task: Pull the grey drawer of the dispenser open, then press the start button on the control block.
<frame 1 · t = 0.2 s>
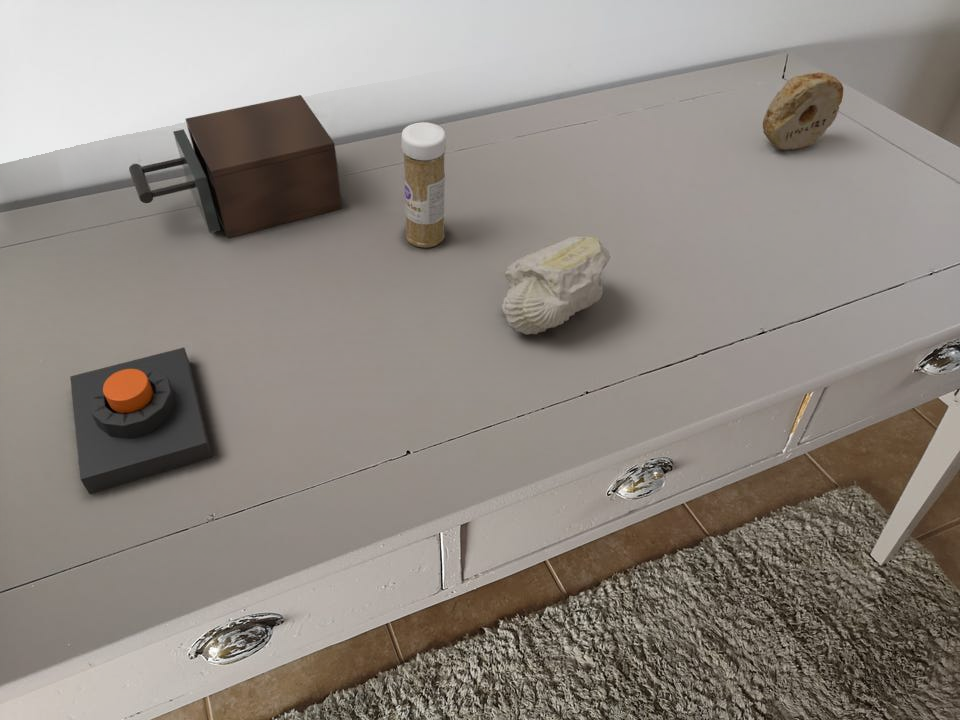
grey drawer: (221, 174, 88), point 4 cm above the table, slide at 0.5 cm
fossil replica: (548, 312, 81), on the table
control block: (143, 423, 69), on the table
stone disc: (788, 145, 106), on the table
sprinkles bottle: (425, 238, 89), on the table
start button: (128, 390, 66), point 5 cm above the table, slide at 0.2 cm
dispenser: (271, 196, 93), on the table
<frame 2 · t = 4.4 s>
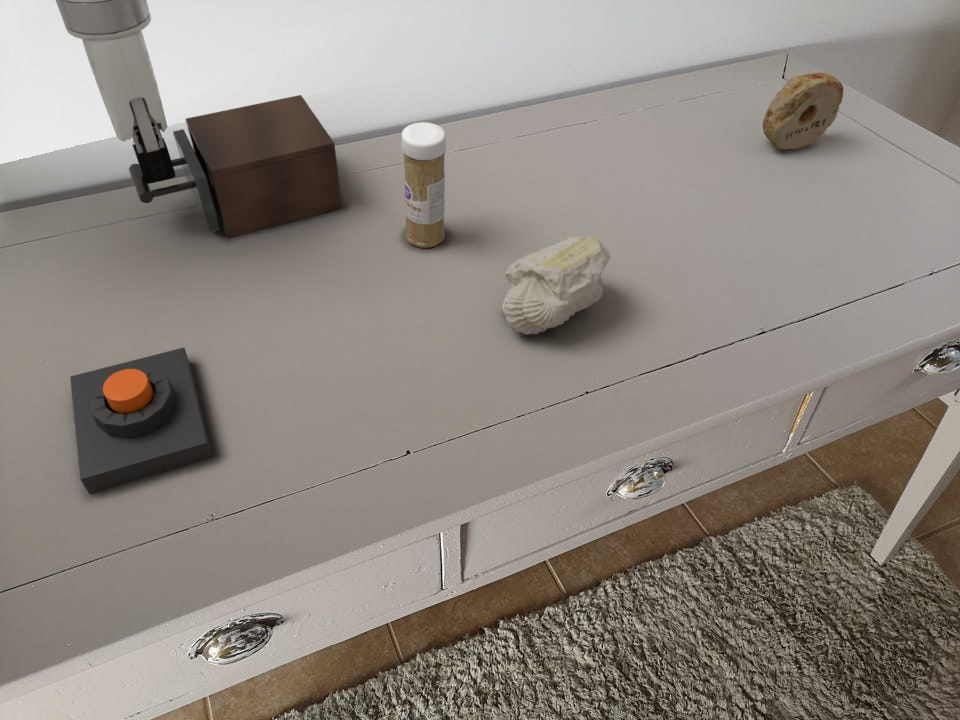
hand: (159, 176, 85), 6 cm above the table, tool pointing down, fingers closed
grey drawer: (220, 174, 88), point 4 cm above the table, slide at 0.5 cm, touching gripper
everything else where it was.
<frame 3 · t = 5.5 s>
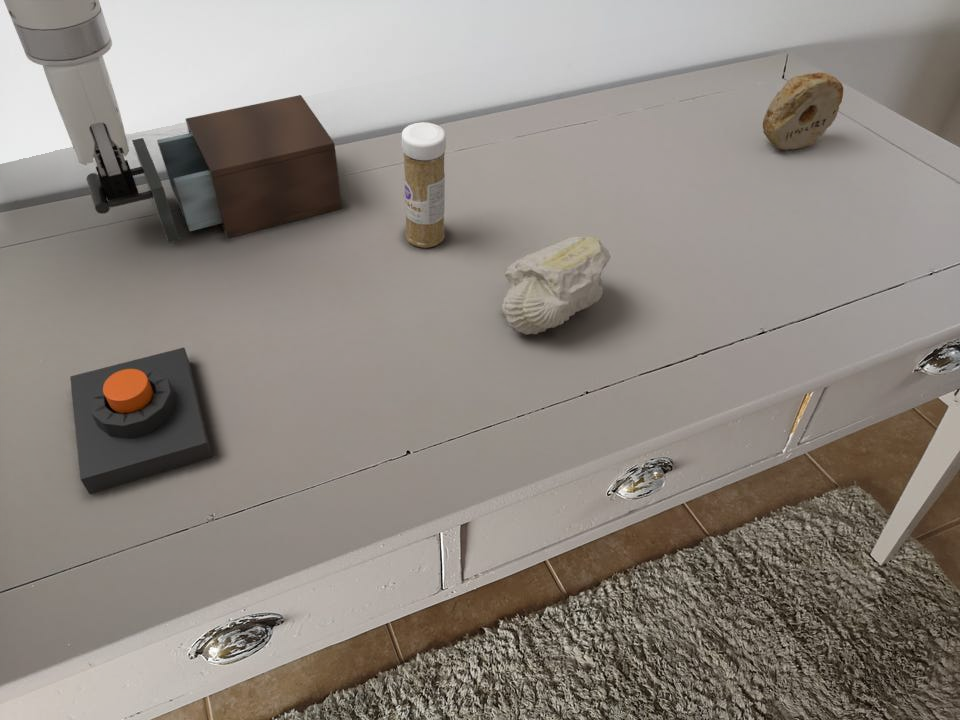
hand: (123, 198, 85), 4 cm above the table, tool pointing down, fingers closed
grey drawer: (181, 184, 87), point 4 cm above the table, slide at 5.0 cm, touching gripper
everything else where it was.
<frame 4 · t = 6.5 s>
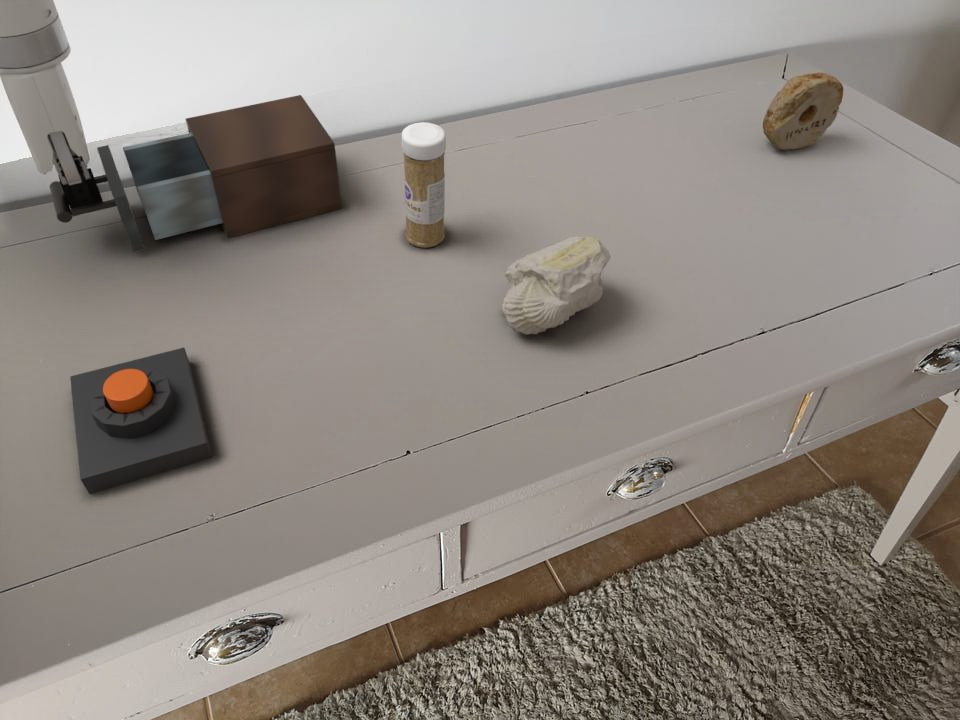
hand: (88, 206, 84), 4 cm above the table, tool pointing down, fingers closed
grey drawer: (146, 192, 86), point 4 cm above the table, slide at 8.7 cm, touching gripper
everything else where it was.
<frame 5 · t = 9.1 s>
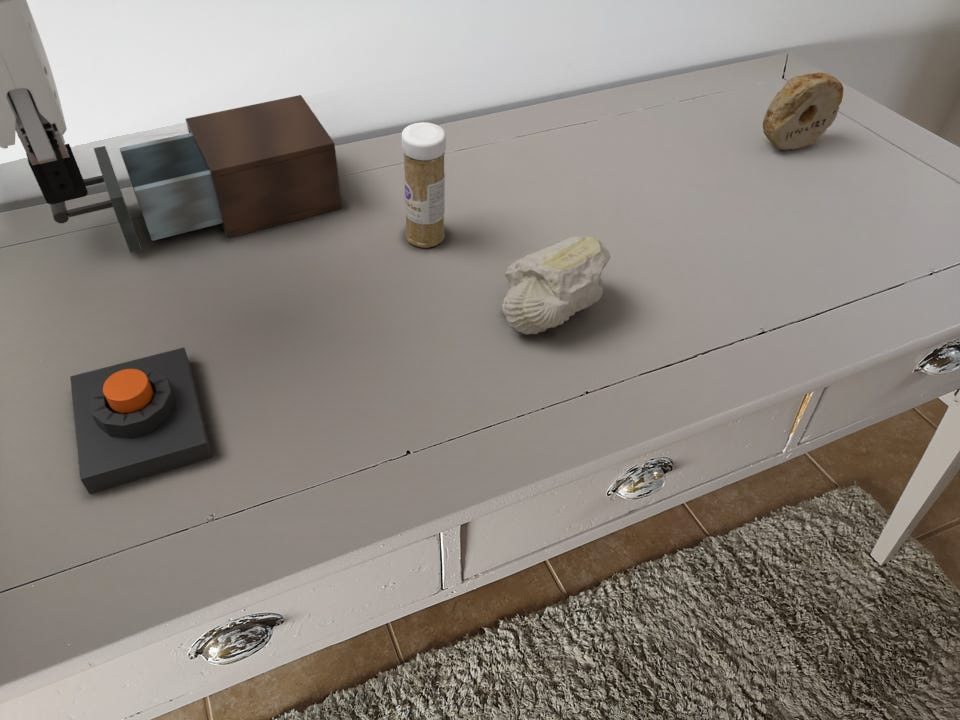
hand: (67, 194, 64), 17 cm above the table, tool pointing down, fingers closed
grey drawer: (143, 192, 85), point 4 cm above the table, slide at 9.0 cm
everything else where it was.
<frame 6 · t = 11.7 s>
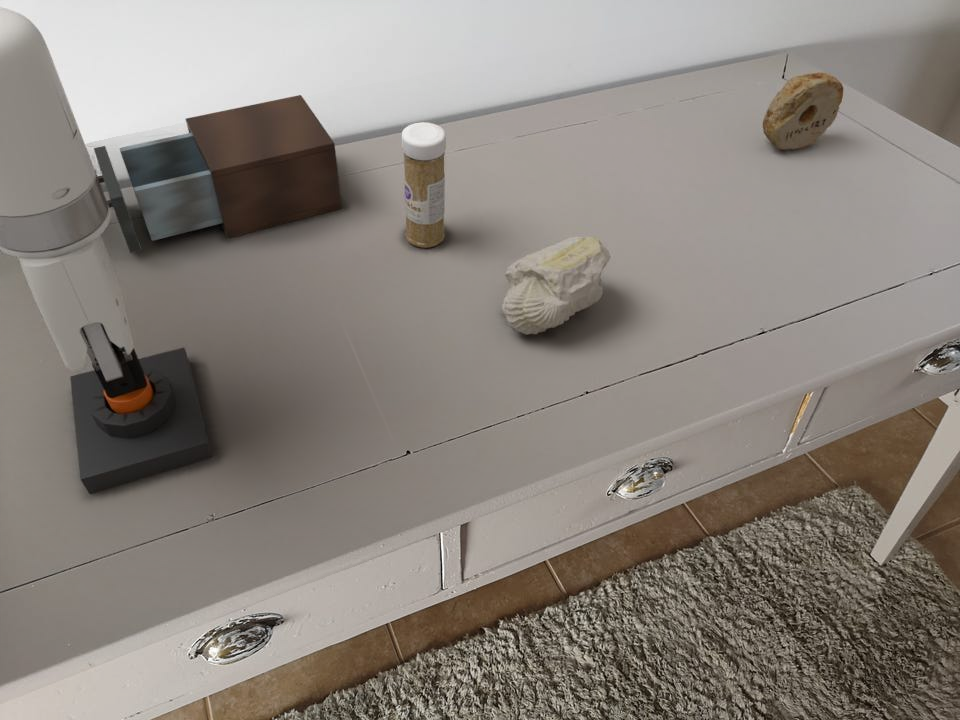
hand: (126, 386, 65), 5 cm above the table, tool pointing down, fingers closed
start button: (128, 392, 66), point 4 cm above the table, slide at 0.0 cm, touching gripper
everything else where it was.
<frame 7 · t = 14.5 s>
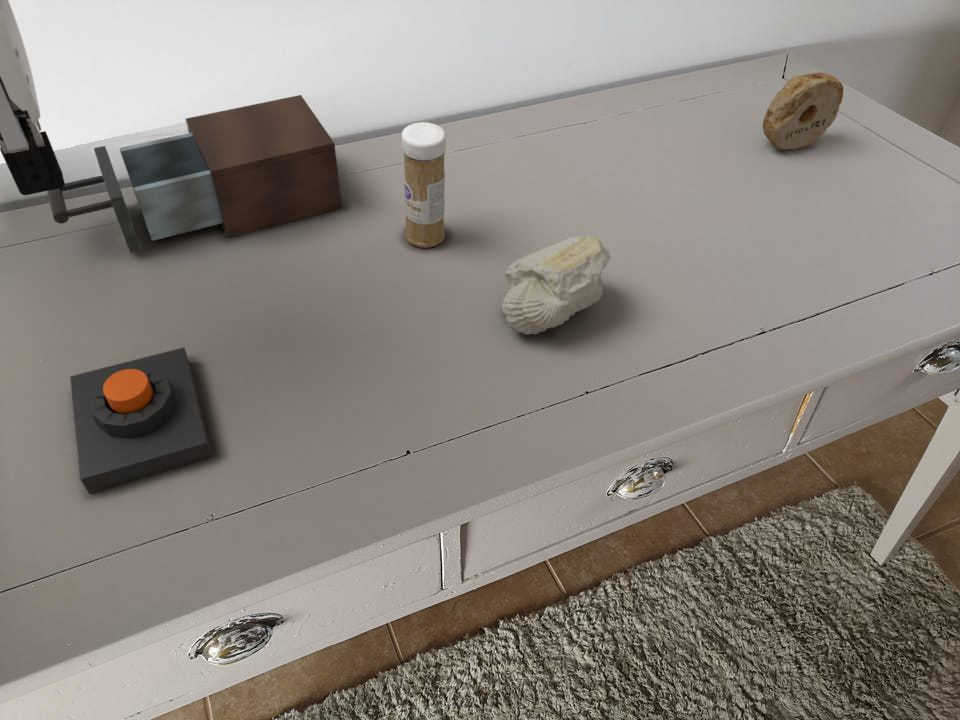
hand: (42, 185, 60), 20 cm above the table, tool pointing down, fingers closed
start button: (128, 390, 66), point 5 cm above the table, slide at 0.1 cm
everything else where it was.
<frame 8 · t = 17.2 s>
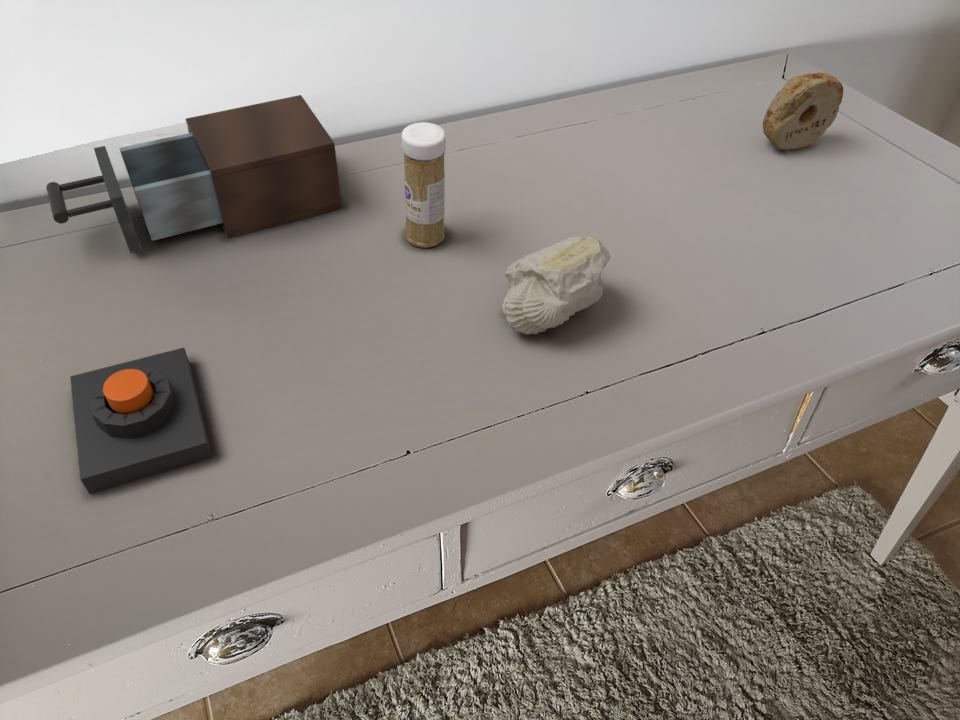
nothing on the table moved.
at the end: grey drawer slide at 9.0 cm; start button pushed in 1.1 cm at the most during the clip, back to where it started at the end; start button slide at 0.1 cm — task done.
